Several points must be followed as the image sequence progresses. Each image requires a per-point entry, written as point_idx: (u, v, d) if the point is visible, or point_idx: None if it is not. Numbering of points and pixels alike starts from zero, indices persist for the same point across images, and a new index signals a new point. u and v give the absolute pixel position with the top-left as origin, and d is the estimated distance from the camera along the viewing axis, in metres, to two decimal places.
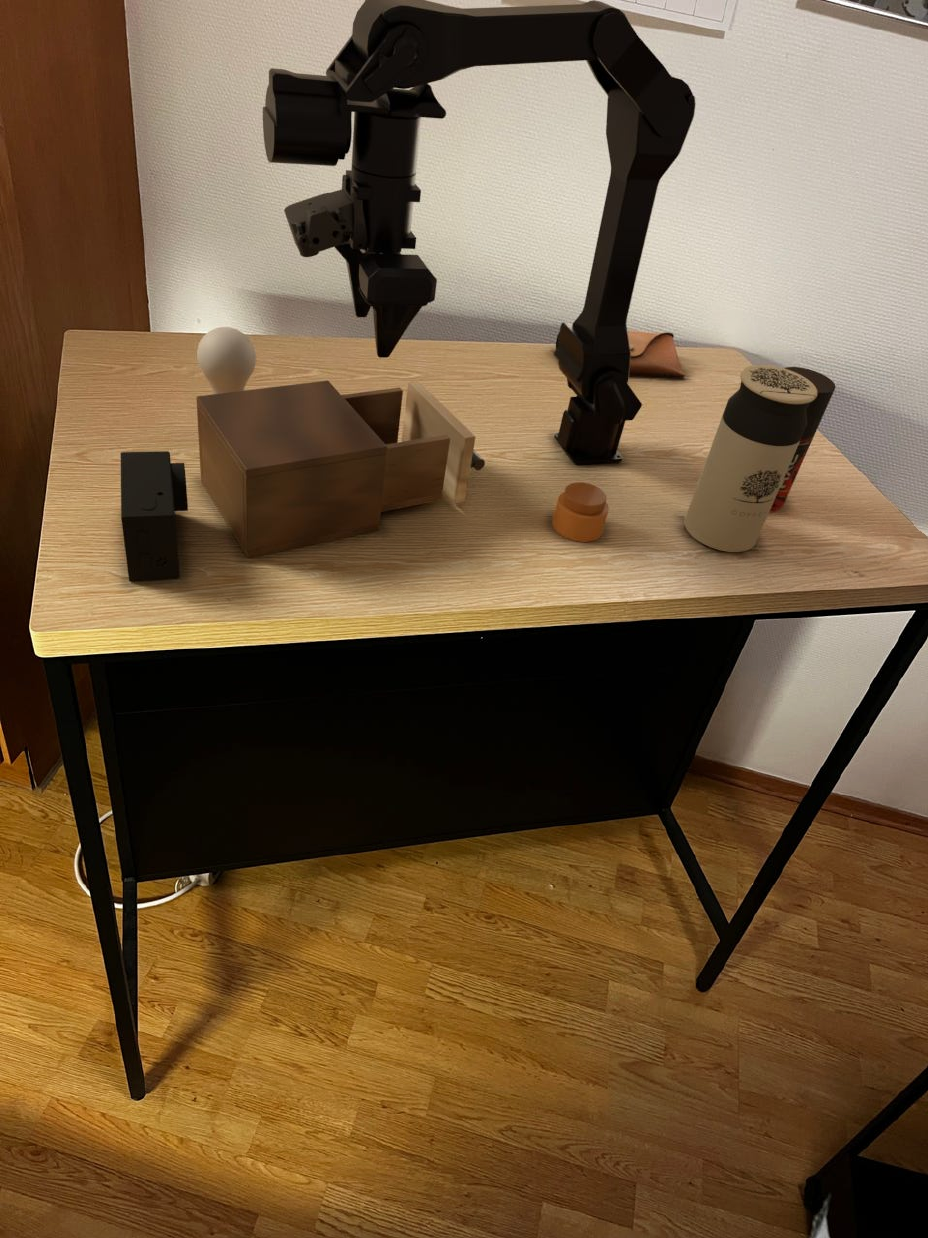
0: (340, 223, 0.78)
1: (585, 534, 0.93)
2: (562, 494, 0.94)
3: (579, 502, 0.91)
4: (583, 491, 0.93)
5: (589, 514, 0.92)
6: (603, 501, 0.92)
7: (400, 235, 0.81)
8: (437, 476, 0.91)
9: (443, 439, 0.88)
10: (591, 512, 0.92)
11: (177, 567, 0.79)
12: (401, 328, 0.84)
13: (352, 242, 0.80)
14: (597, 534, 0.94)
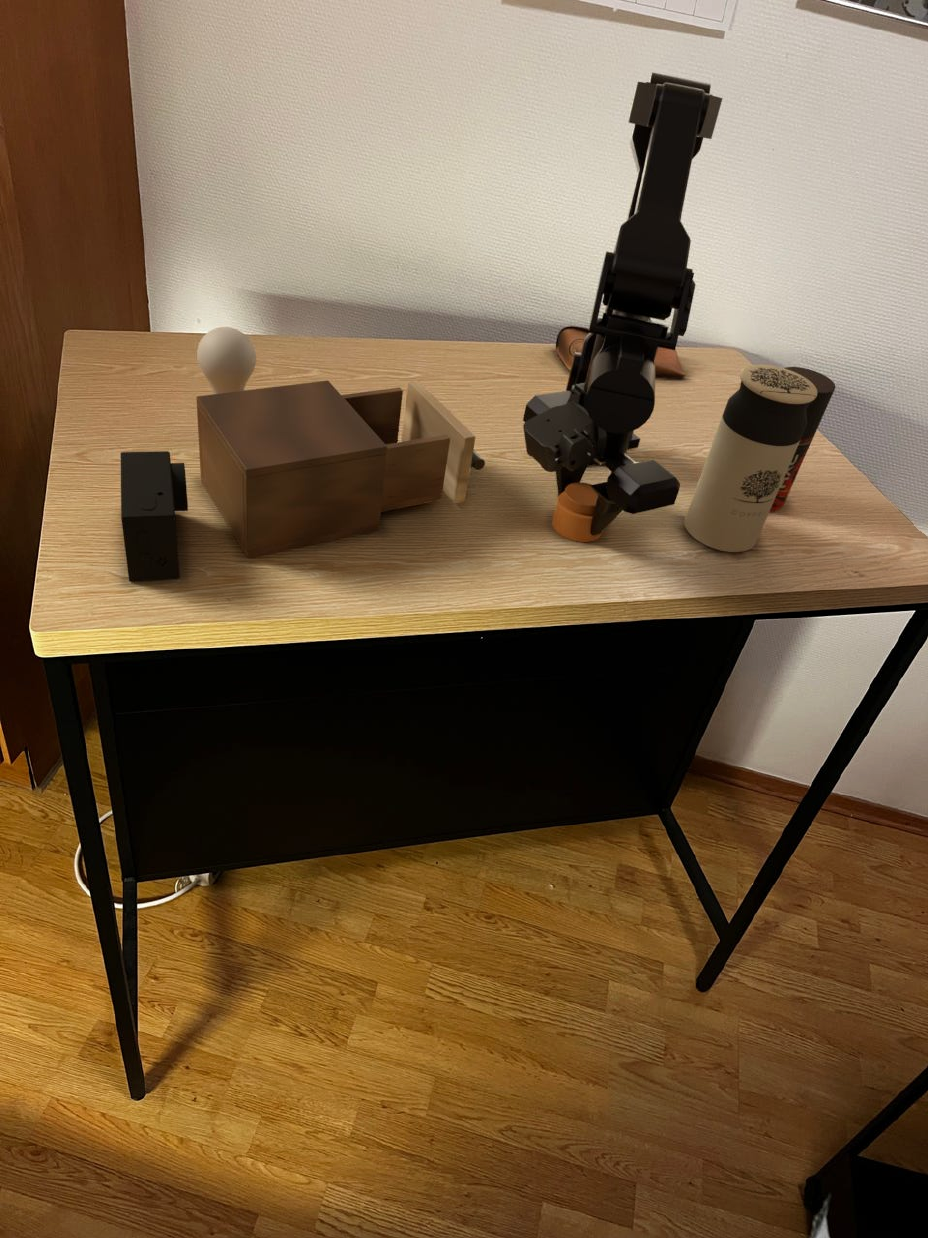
0: (590, 442, 0.83)
1: (585, 534, 0.93)
2: (562, 494, 0.94)
3: (579, 502, 0.91)
4: (583, 491, 0.93)
5: (589, 514, 0.92)
6: None
7: (629, 439, 0.87)
8: (437, 476, 0.91)
9: (443, 439, 0.88)
10: (591, 512, 0.92)
11: (177, 567, 0.79)
12: (619, 511, 0.91)
13: None
14: None
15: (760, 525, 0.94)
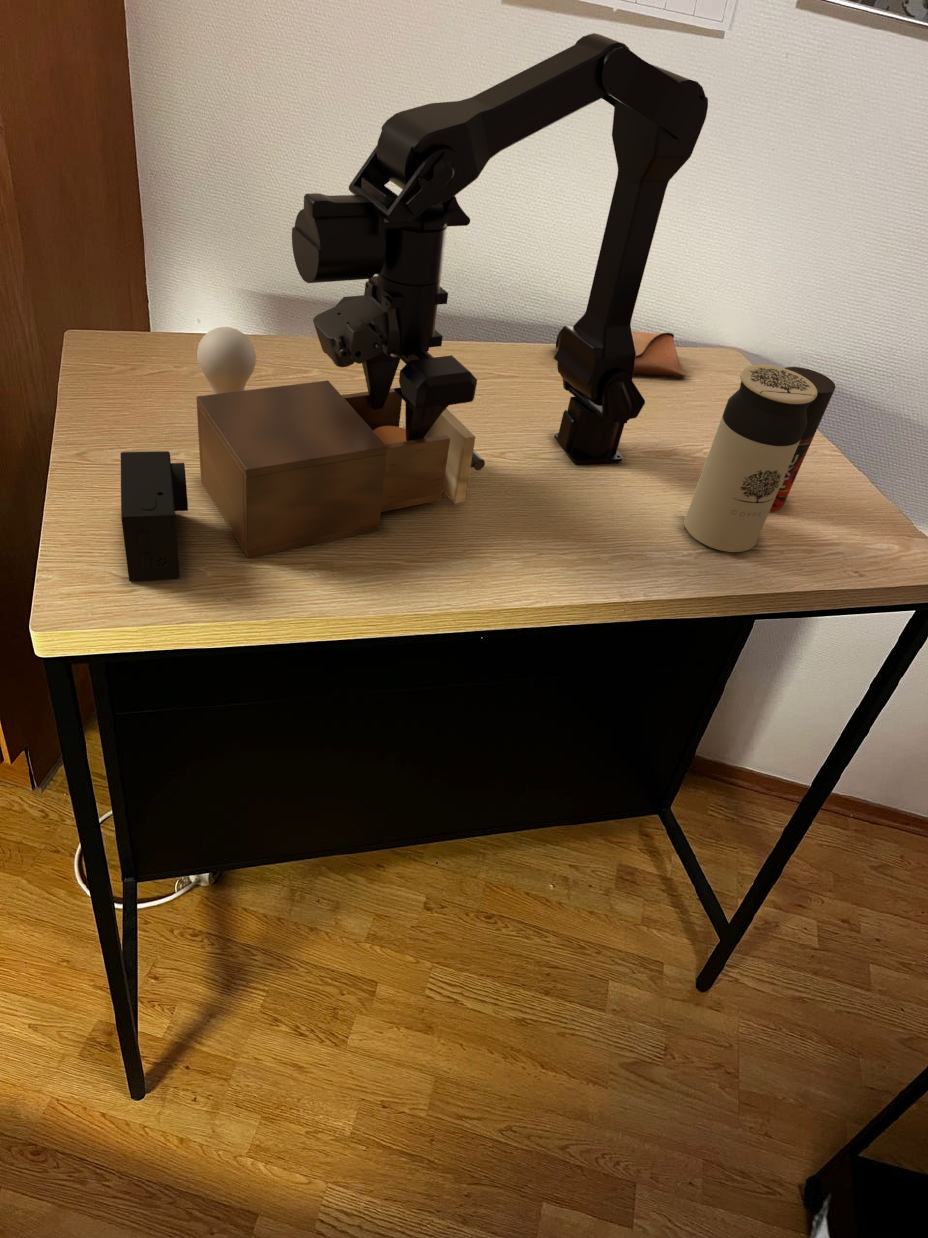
0: (378, 334, 0.79)
1: None
2: None
3: None
4: (391, 434, 0.92)
5: None
6: None
7: (428, 336, 0.83)
8: (437, 476, 0.91)
9: (443, 439, 0.88)
10: None
11: (177, 567, 0.79)
12: (432, 420, 0.86)
13: (386, 348, 0.82)
14: None
15: (760, 525, 0.94)
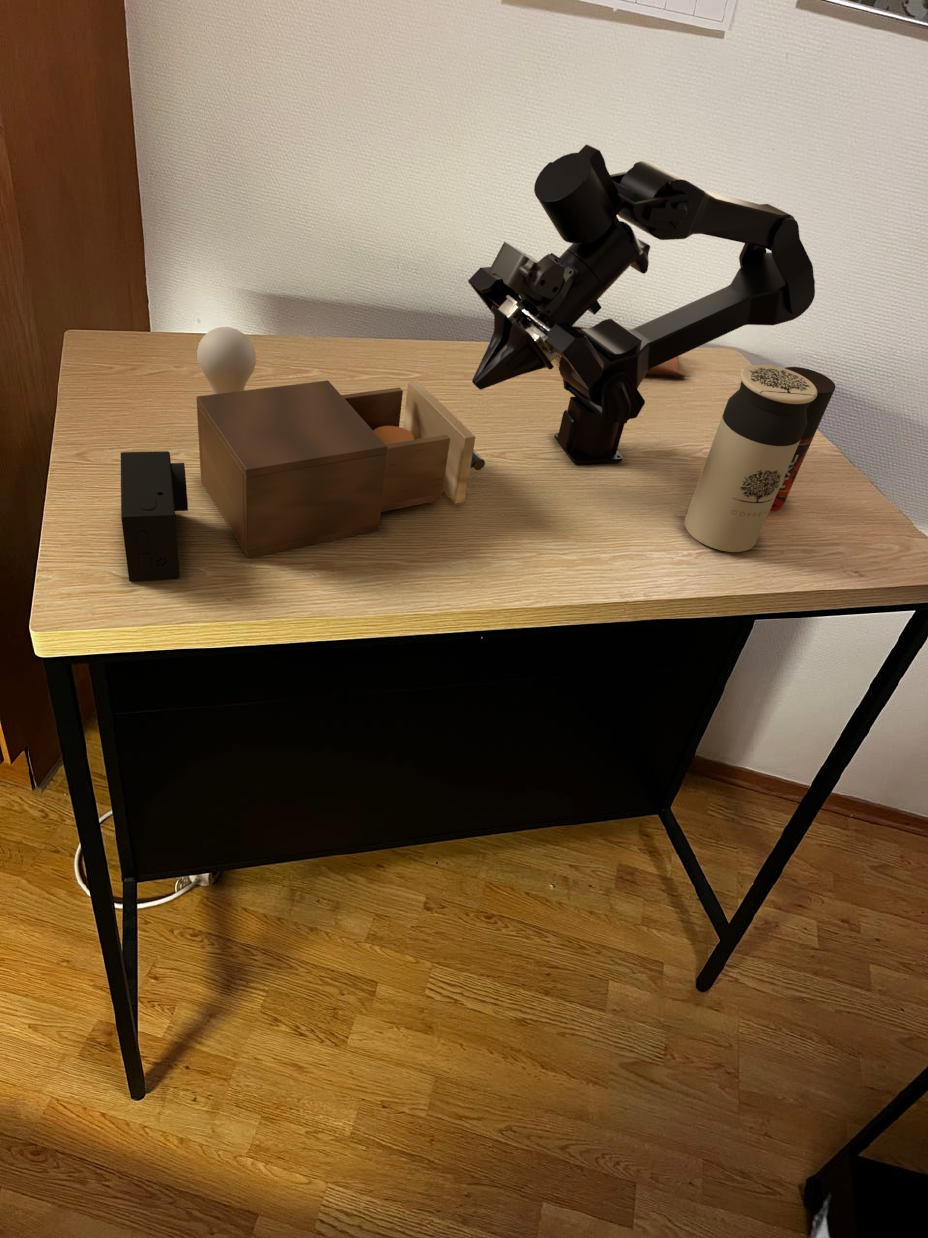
0: None
1: None
2: None
3: None
4: (391, 434, 0.92)
5: None
6: None
7: None
8: (437, 476, 0.91)
9: (443, 439, 0.88)
10: None
11: (177, 567, 0.79)
12: (511, 374, 0.93)
13: (545, 305, 0.88)
14: None
15: (760, 525, 0.94)
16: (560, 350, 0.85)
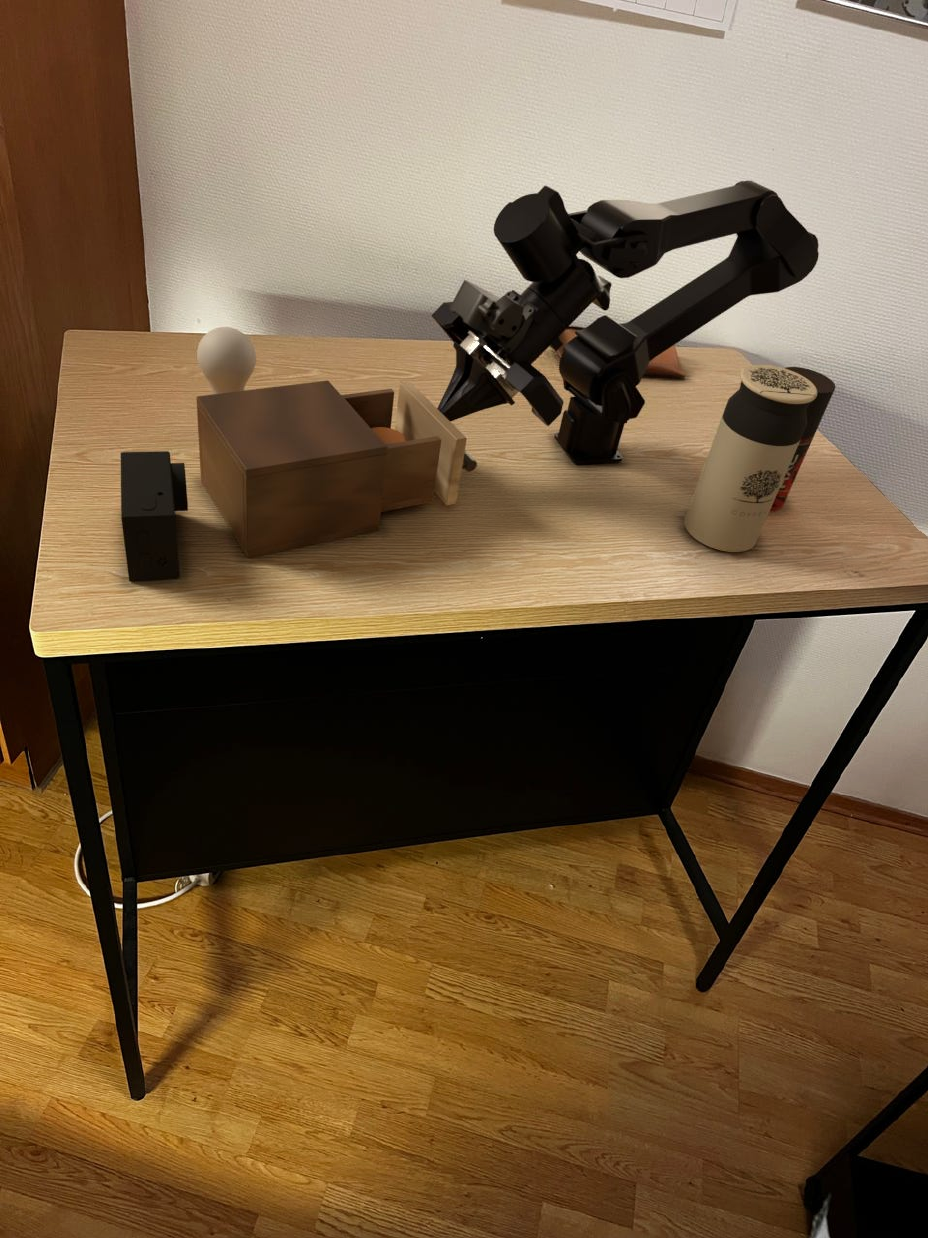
0: None
1: None
2: None
3: None
4: (382, 435, 0.92)
5: None
6: None
7: (530, 363, 0.92)
8: (428, 478, 0.90)
9: (434, 441, 0.88)
10: None
11: (177, 567, 0.79)
12: (473, 409, 0.93)
13: (505, 342, 0.88)
14: None
15: (760, 525, 0.94)
16: (518, 389, 0.85)
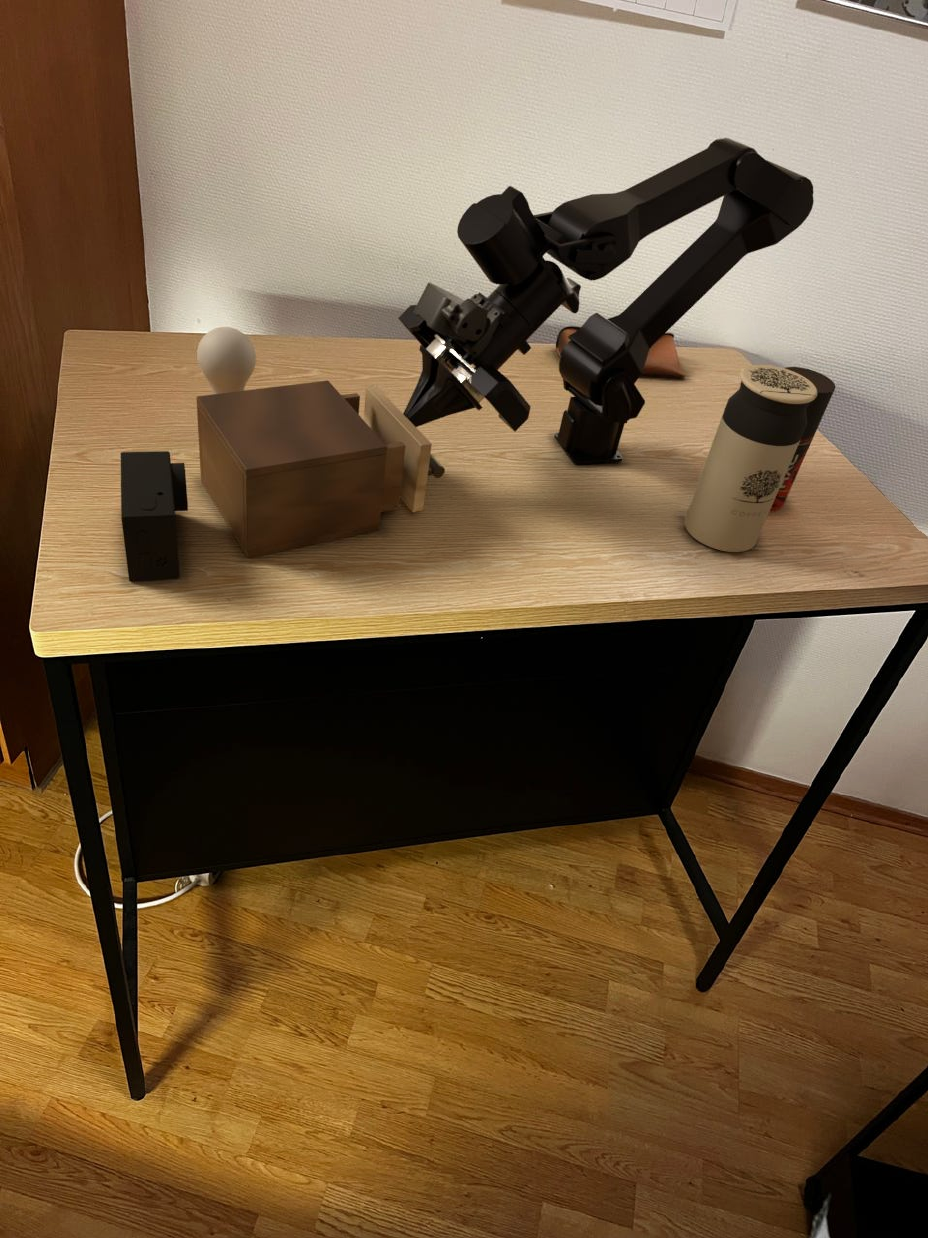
0: None
1: None
2: None
3: None
4: None
5: None
6: None
7: (497, 367, 0.90)
8: (393, 484, 0.89)
9: (397, 447, 0.86)
10: None
11: (177, 567, 0.79)
12: (439, 414, 0.91)
13: (471, 346, 0.86)
14: None
15: (760, 525, 0.94)
16: (483, 394, 0.83)
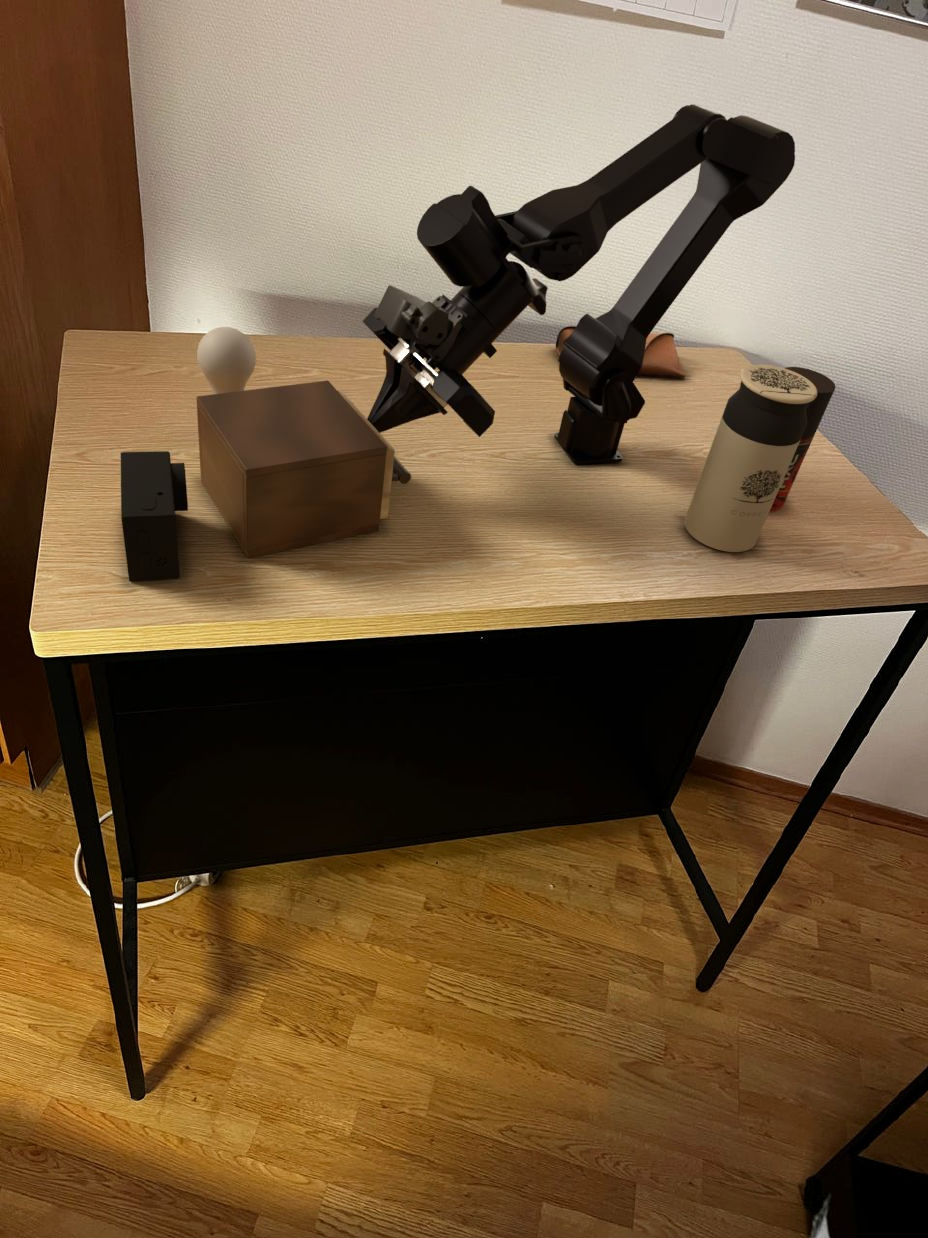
0: None
1: None
2: None
3: None
4: None
5: None
6: None
7: (462, 371, 0.88)
8: None
9: None
10: None
11: (177, 567, 0.79)
12: (404, 419, 0.90)
13: (433, 350, 0.84)
14: None
15: (760, 525, 0.94)
16: (444, 399, 0.81)
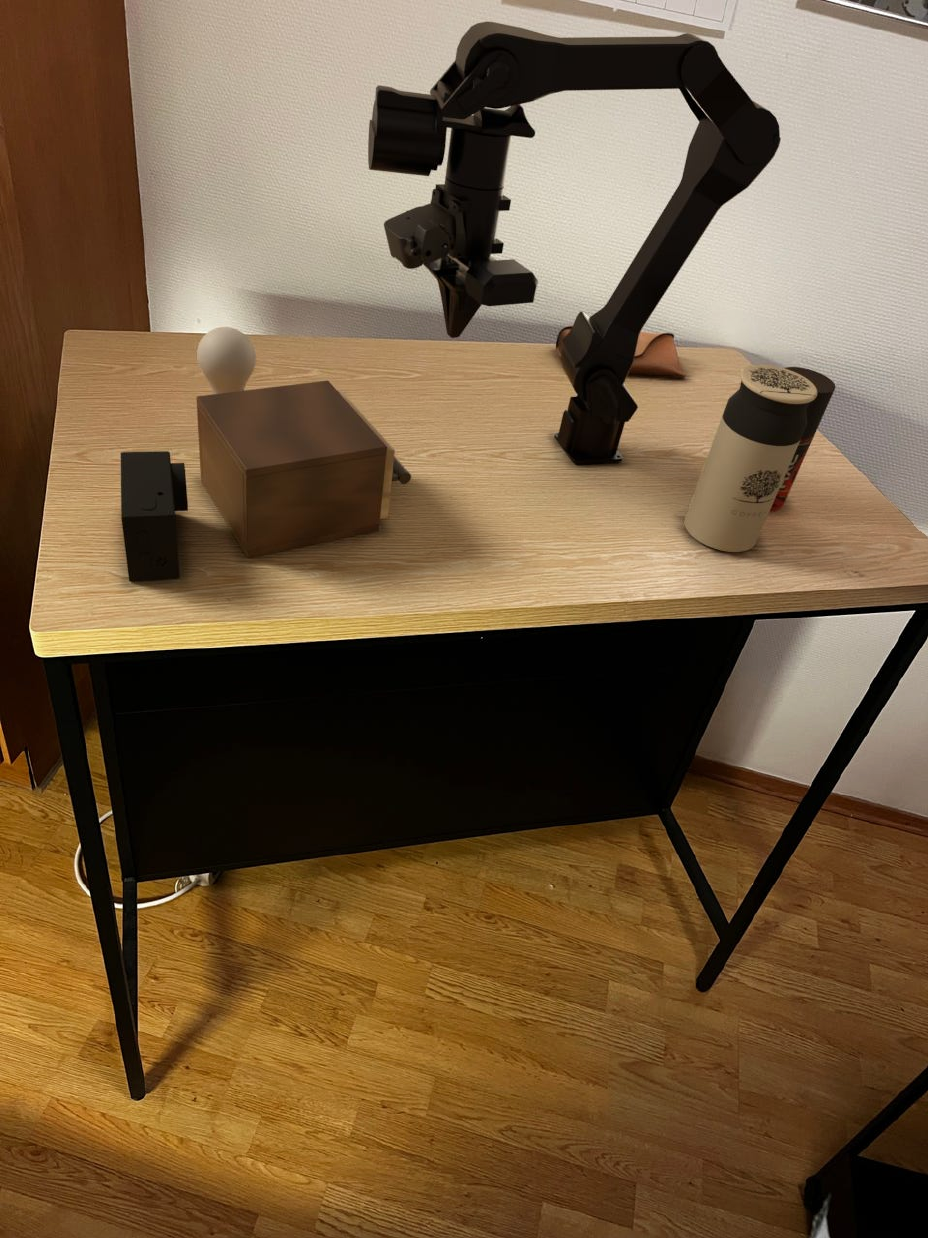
0: (446, 235, 0.84)
1: None
2: None
3: None
4: None
5: None
6: None
7: (491, 242, 0.88)
8: None
9: None
10: None
11: (177, 567, 0.79)
12: (473, 309, 0.94)
13: (452, 251, 0.87)
14: None
15: (760, 525, 0.94)
16: (479, 301, 0.85)
